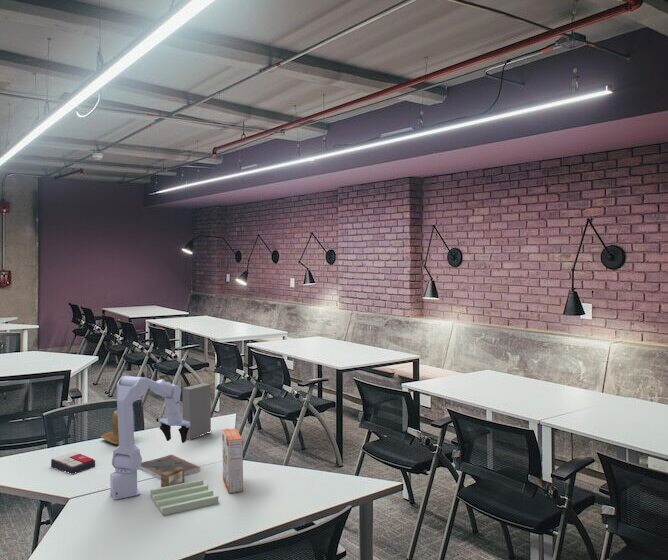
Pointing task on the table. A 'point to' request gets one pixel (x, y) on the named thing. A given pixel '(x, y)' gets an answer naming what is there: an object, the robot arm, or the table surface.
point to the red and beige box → (72, 462)
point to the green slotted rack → (183, 497)
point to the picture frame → (167, 466)
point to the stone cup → (114, 435)
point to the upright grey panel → (197, 409)
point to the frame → (172, 477)
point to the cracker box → (232, 460)
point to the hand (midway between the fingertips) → (176, 440)
